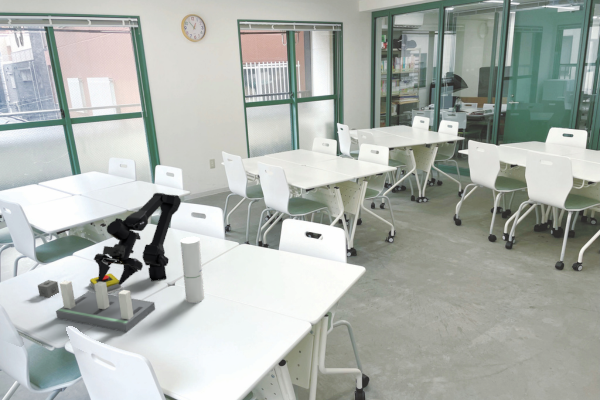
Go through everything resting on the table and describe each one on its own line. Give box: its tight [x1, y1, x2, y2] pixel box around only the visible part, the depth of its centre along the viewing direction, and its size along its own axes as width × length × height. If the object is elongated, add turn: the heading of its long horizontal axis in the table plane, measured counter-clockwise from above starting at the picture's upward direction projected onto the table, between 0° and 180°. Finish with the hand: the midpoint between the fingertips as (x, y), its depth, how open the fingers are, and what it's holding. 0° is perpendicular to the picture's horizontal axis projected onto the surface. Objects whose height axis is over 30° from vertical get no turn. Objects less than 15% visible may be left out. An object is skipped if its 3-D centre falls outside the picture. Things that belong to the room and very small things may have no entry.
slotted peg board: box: [55, 280, 156, 333], centre depth 162 cm, size 16×31×13 cm, turn 72°
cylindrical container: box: [180, 236, 205, 304], centre depth 170 cm, size 7×7×25 cm
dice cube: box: [37, 279, 60, 299], centre depth 178 cm, size 5×5×5 cm
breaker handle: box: [94, 282, 109, 309], centre depth 160 cm, size 2×3×10 cm
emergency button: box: [89, 273, 124, 295], centre depth 185 cm, size 9×4×15 cm
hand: (109, 283), depth 164 cm, fingers open, 9 cm apart
